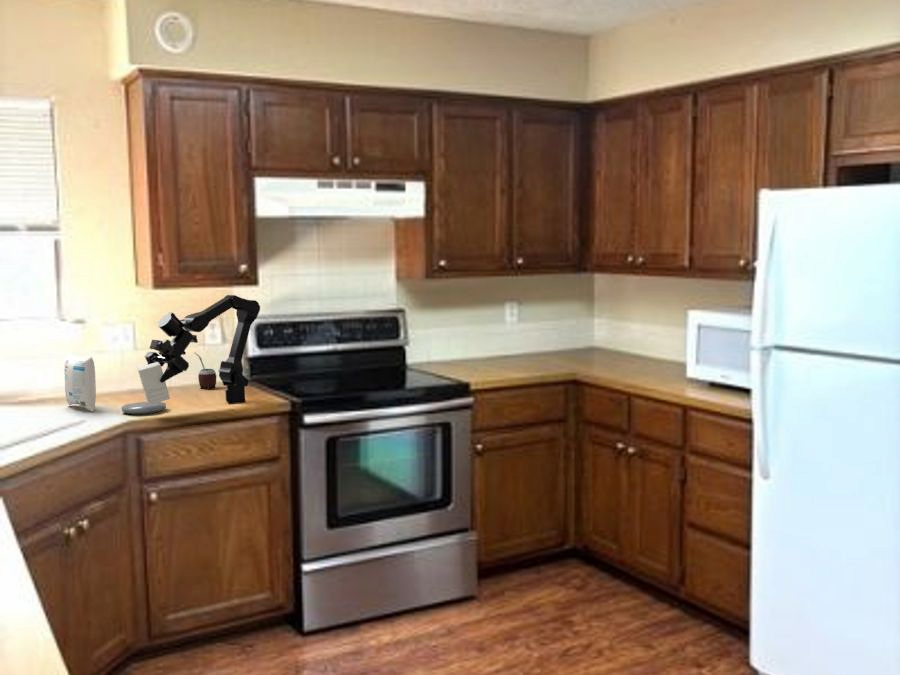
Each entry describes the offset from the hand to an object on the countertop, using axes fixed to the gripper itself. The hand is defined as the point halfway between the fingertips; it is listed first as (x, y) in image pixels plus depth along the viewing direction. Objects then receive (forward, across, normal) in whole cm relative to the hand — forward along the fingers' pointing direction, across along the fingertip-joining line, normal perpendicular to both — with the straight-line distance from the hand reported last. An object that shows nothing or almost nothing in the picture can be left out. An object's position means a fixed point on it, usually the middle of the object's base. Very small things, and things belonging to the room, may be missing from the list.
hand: (152, 380), depth 307 cm
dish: (+6, -13, +12) cm, 19 cm away
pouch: (+14, -38, +5) cm, 40 cm away
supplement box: (+4, 0, +6) cm, 7 cm away
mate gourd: (-23, -33, +42) cm, 58 cm away
